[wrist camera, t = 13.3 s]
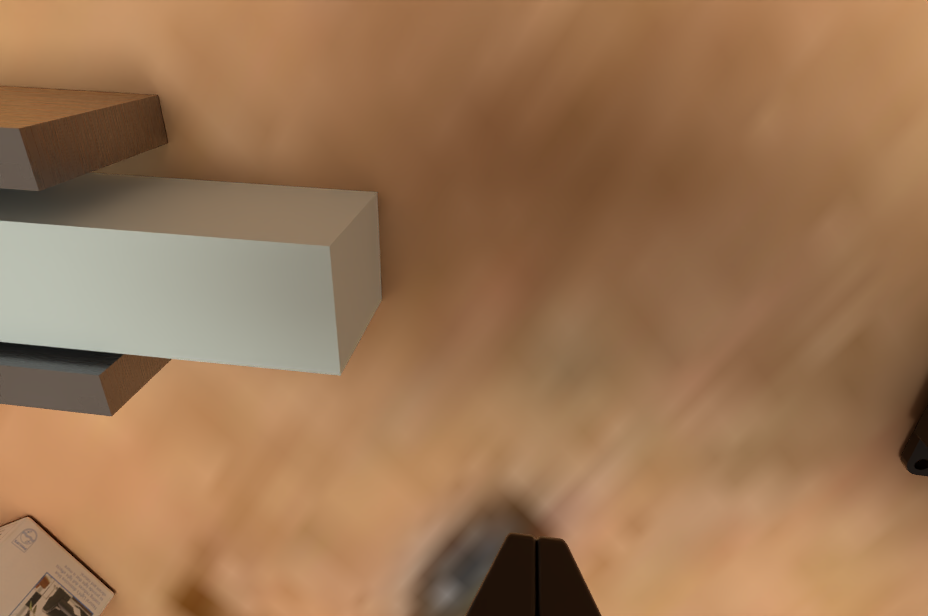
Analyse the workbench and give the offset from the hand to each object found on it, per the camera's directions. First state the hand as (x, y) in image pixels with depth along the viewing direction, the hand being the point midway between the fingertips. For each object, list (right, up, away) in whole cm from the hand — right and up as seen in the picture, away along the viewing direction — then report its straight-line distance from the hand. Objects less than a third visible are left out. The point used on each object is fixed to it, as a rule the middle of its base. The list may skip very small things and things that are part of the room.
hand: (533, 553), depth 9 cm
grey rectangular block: (-10, +6, +12) cm, 17 cm away
